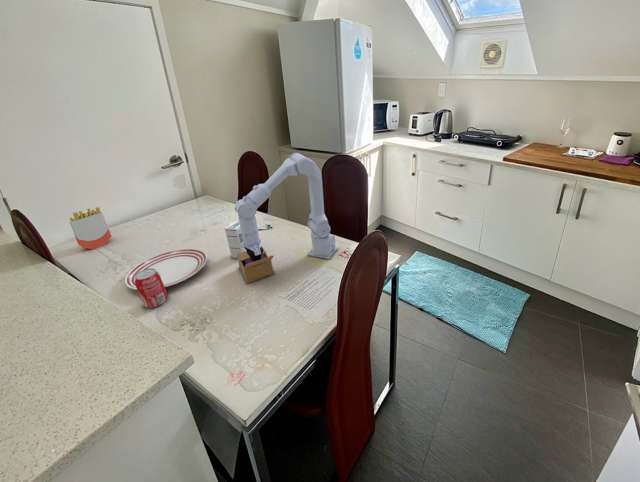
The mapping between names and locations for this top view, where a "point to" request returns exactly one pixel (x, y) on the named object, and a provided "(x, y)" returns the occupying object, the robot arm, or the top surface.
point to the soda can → (150, 287)
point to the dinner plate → (171, 266)
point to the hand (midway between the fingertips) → (255, 262)
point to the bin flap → (258, 262)
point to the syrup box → (234, 239)
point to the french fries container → (90, 229)
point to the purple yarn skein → (251, 260)
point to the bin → (255, 271)
